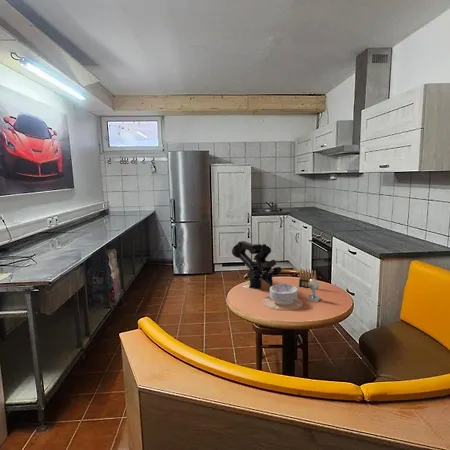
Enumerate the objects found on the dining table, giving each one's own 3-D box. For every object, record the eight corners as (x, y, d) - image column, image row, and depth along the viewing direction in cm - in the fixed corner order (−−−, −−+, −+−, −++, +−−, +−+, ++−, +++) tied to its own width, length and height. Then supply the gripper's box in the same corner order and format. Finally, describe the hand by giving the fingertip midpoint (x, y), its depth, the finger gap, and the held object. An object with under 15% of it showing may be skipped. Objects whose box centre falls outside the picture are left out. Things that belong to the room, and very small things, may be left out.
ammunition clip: (298, 287, 208) (299, 268, 206) (299, 286, 209) (300, 267, 208) (315, 289, 202) (316, 270, 201) (316, 288, 204) (317, 269, 202)
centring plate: (256, 305, 178) (256, 305, 178) (270, 293, 197) (271, 292, 197) (296, 313, 168) (296, 312, 168) (307, 299, 187) (307, 298, 187)
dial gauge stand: (306, 300, 185) (307, 279, 183) (309, 296, 190) (310, 276, 189) (317, 301, 182) (318, 280, 181) (320, 298, 188) (320, 277, 186)
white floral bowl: (276, 308, 173) (276, 294, 172) (265, 298, 188) (265, 285, 187) (302, 305, 177) (303, 291, 176) (290, 296, 192) (290, 282, 190)
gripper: (253, 257, 190) (262, 281, 182) (280, 253, 198) (291, 276, 190) (246, 267, 198) (255, 290, 190) (273, 263, 206) (282, 285, 198)
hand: (271, 285), depth 192 cm, fingers closed
